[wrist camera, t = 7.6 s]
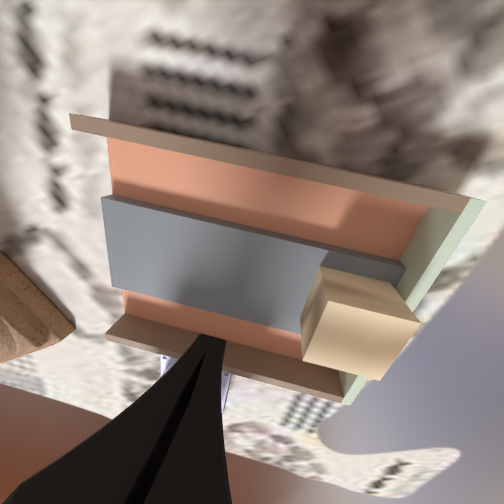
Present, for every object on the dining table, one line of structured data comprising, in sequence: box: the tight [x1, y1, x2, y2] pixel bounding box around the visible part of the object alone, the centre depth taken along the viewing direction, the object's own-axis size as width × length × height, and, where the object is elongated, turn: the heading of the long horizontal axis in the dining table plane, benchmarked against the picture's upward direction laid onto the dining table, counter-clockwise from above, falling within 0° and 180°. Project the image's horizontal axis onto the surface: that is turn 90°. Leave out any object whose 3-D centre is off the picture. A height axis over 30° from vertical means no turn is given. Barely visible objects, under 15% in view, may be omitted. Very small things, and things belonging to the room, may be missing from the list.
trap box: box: [69, 113, 487, 405], centre depth 17 cm, size 18×23×3 cm
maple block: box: [300, 266, 421, 381], centre depth 15 cm, size 5×5×4 cm
